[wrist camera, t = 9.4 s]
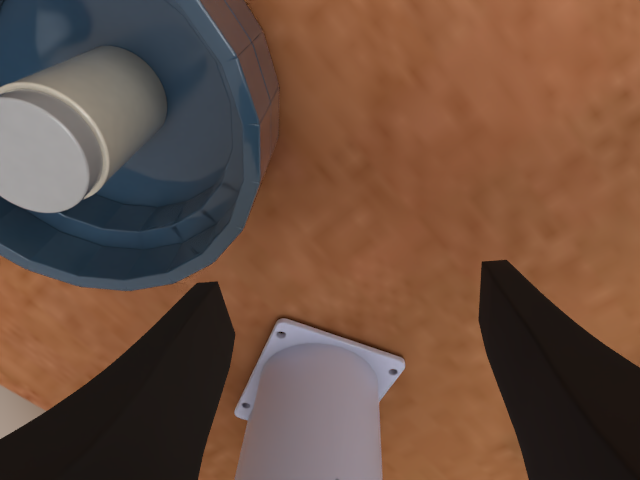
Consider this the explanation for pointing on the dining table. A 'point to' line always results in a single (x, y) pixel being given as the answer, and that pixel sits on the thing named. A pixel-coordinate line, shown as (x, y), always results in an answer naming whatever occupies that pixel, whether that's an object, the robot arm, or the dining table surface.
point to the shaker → (75, 126)
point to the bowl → (163, 149)
